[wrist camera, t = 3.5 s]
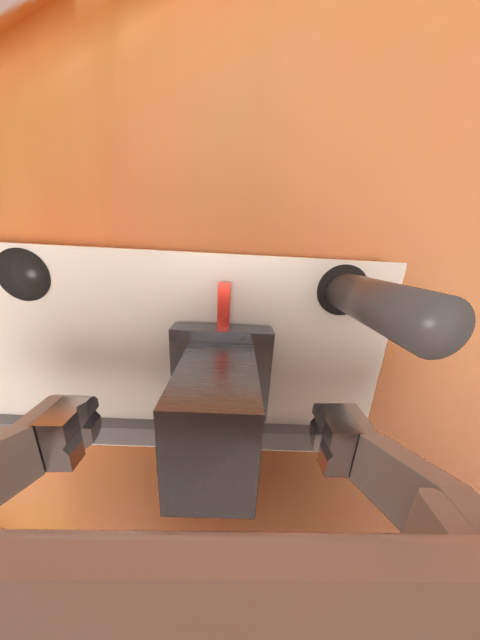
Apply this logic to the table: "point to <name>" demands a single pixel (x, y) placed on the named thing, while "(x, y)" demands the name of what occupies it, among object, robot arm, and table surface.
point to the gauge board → (201, 307)
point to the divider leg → (213, 416)
